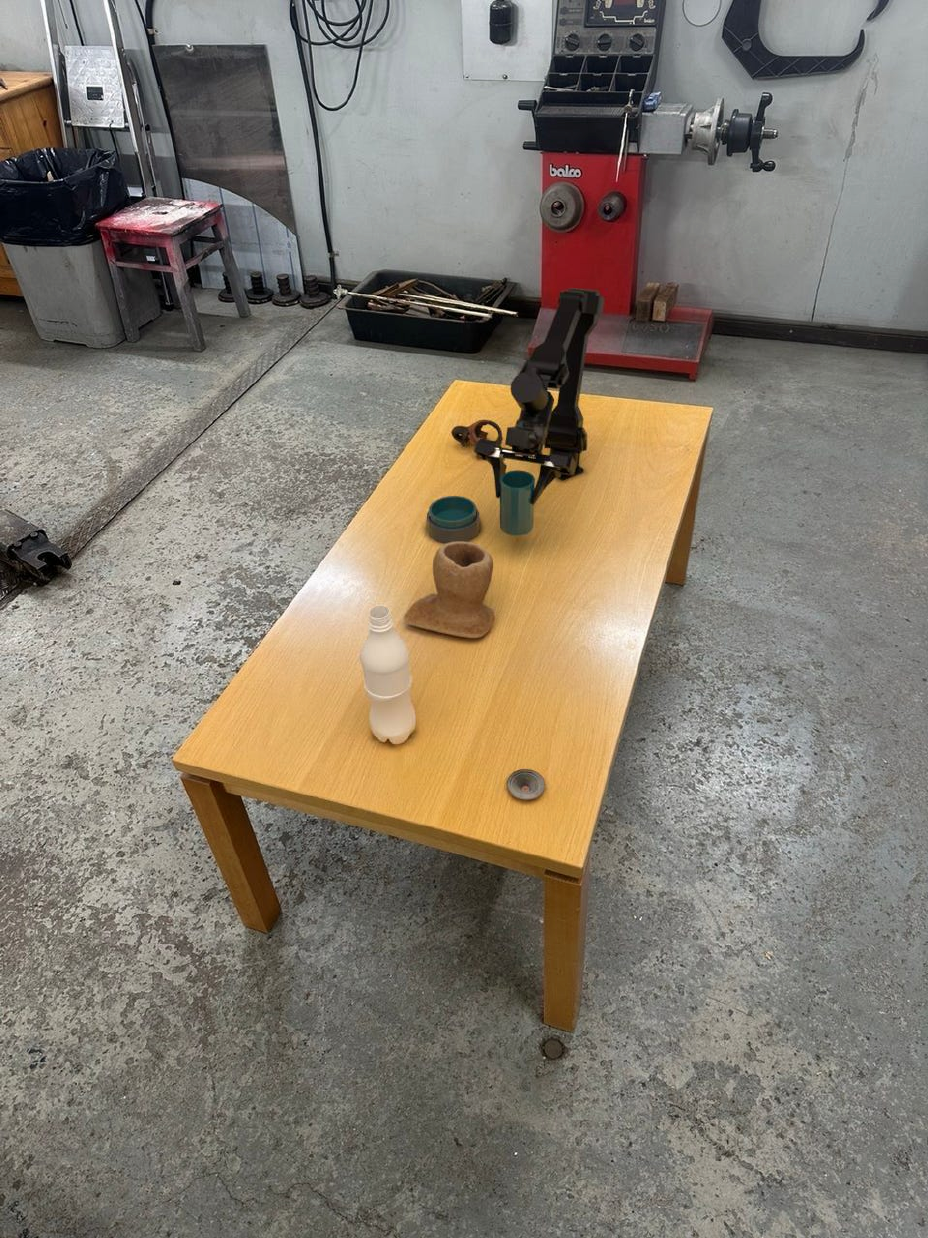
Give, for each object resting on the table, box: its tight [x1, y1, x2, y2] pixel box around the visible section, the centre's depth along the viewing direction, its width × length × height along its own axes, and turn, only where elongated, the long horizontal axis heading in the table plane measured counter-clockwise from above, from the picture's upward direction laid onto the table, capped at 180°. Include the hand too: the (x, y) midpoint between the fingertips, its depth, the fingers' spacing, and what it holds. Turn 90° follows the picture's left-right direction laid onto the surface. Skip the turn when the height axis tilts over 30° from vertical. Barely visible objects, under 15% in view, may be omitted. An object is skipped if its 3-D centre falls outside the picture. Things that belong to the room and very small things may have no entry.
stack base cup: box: [426, 507, 481, 544], centre depth 175 cm, size 11×11×3 cm
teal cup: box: [499, 469, 536, 537], centre depth 161 cm, size 6×6×10 cm
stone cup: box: [403, 541, 496, 639], centre depth 150 cm, size 15×12×15 cm
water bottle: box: [359, 604, 417, 745], centre depth 126 cm, size 7×7×25 cm
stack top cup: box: [428, 495, 477, 529], centre depth 175 cm, size 10×10×5 cm
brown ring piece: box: [450, 419, 504, 459], centre depth 199 cm, size 12×10×8 cm
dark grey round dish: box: [506, 768, 546, 801], centre depth 125 cm, size 6×6×1 cm
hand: (514, 500), depth 159 cm, fingers closed on teal cup, 6 cm apart
